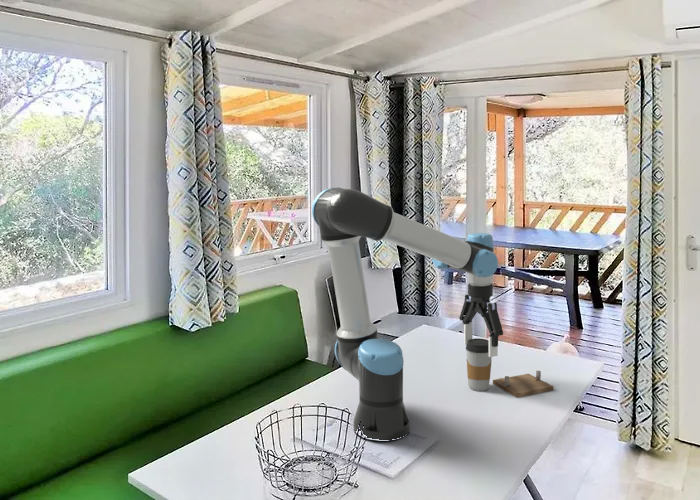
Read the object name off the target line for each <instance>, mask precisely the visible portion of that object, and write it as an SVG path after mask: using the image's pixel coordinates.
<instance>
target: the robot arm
mask: <svg viewBox="0 0 700 500" xmlns="http://www.w3.org/2000/svg"><path fill="white" fill-rule="evenodd" d="M311 214H312V218H313V220H314V222H315V223H316V224H317V226H318V227H319V233H320V238H321V241H322V243H324V244H325V245H326V246H327V248H328V250H327V251H328V254H329V261H330V267H331V273H332V280H333V287H334V292H335V298H336V299H335V300H336V305H337V311H338V317H339V318H338V319H339V322H340V327H339V328H338V330H337V331H336V338H337V340H336V342H335V345H334V355H335V358H336V360H337V362H338V364H339V365H340V366H341V368H343V369H344V371H346V372H348V373H349V374H350V375H351V376H353V378H355V379H356V380H357V381H358V383H359V386H358V388H359V393H358V394H359V403H358V406H357V407H356V411H355V414H354V417H353V422H352V423H353V424H352V426H353V428H354V429H353V431H355V432H356V431H357V429H358V425H359V423H360V420H361V423H360V429H359V431H361V430H362V429H363V434H364V435H366V436H367V438H372V439H379V440H392V439H397V438H400V437H403V436H405V435H406V434H407V435H408V434H409V433H410V430H411V428H410V427H411V426H410V425H411V422H410V417H409V415H408V413H407V410H406V406H405V404H404V357H403V355H404V354H403V349H402V348H401V347H400V345H399V344H398V343H396V342H394V341H392V340H389V339H388V340H387V339H385V338H379V334H378V327H377V325H376V324H374V323H373V322H372V321H371V316H370V309H369V304H368V303H369V302H368V295H367V290H366V283H365V282H366V281H365V275H364V271H363V270H364V269H363V263H362V257H361V250H360V248H361V247H360V243H359V241H360V239H361V238H367V239H370V240H373V241H376V242H381V241H382V240H383V241H386V242H388V243H392V244H394V245H396V246H399V247H402V248H404V249H406V250H409V251H412V252H414V253H417V254H420V255H423V256H425V257H427V258H429V259H431V260H432V264H433V265H434V267H435V268H436V269H438V270H448V269H453V270H457V271H460V272H463V273H467V282H468V284H467V294H464V302H463V305H462V308H461V311H460V315H459V319H458V320H459V321H461V322H462V324H463V344H464V345H466V344H467V341H468V340H470V339H473V320H474V319H475V318H474V317H475V316H476V315H477V314H479V315H480V316H481V318H483V320H484V323H485V325H486V328H487V329H488V332H489V335H488V340H489V357H492V358H493V357H494V358H495V357H497V356H498V354H499V353H498V347H499V337H500V336H503V335H504V331H503V327H502V324H501V320H500V316H499V312H498V304H497V302H491V297H493V296H494V285H493V283H494V282H493V281H494V280H493V279H494V277H493V276H494V274H495V273H496V271H497V269H498V265H499V261H498V257H497V255H496V254H495V252H494V248H495V247H494V239H493V235H492V234H491V233H487V232H485V233H484V232H473V233H472V232H471V233H469V234H468V235H467V240H466V241H464V240H461V239H459V238H456V237H454V236H452V235H449V234H447V233H445V232H443V231H439V230H438V229H435V228H432V227H430V226H428V225H426V224H423V223H421V222H418V221H416V220H414V219H412V218H408V217H406V216H404V215H402V214H399V213H396V212H394V209H393V207H392V206H391V205H387V204H386V203H385V202H384V203H383V202H382V201H379V200H377V199H376V198H374V197H371V196H370V195H368V194H366V193H364V192H362V191H360V190H357V189H352V188H343V187H330V188H327V189H324V190H322V191H321V192H320V193H318V195H317V196H316V197H315V198H314V200H313V202H312V207H311ZM363 425H364V428H363ZM355 432H354V433H355ZM408 432H409V433H408ZM407 435H406V436H407ZM406 436H405V437H406ZM403 438H404V437H403Z"/></svg>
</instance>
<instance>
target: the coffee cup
mask: <svg viewBox="0 0 700 500" xmlns="http://www.w3.org/2000/svg"><path fill="white" fill-rule="evenodd" d="M465 350H466V352H465V353H466V372H467V373H466V374H467V382H468V383H467V385H468V387H469V389H470V390H472V391H476V392H485V391H487V390H488V389H489V387H490V381H491V373H492V371H491V370H492V359H493V357H489V339H486V338H479V337H478V338H472V339H470V340H468V341H467V344H465Z"/></svg>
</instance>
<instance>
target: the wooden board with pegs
mask: <svg viewBox="0 0 700 500" xmlns="http://www.w3.org/2000/svg"><path fill="white" fill-rule="evenodd" d="M535 372H536V373H535V376H534V375H532V374H530V373H525V374H519V375H512V376H509V375H505V376H504V377H502V378H496V379H492V384H493V385H495V386H496V387H498V388H499V389H501V390H503V391H504V392H506V393H508V394H509V395H512V396H513V397H515V398H520V397H524V396H526V397H527V396H530V395H535V394H536V395H537V394H541V393H545V392H546V393H547V392H550V391H554V388H555V387H554V385H551V384H549V383H548V382H546V381H544V380H542V379H541V377H542V376H541V375H542V373H541V370H536V371H535Z"/></svg>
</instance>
